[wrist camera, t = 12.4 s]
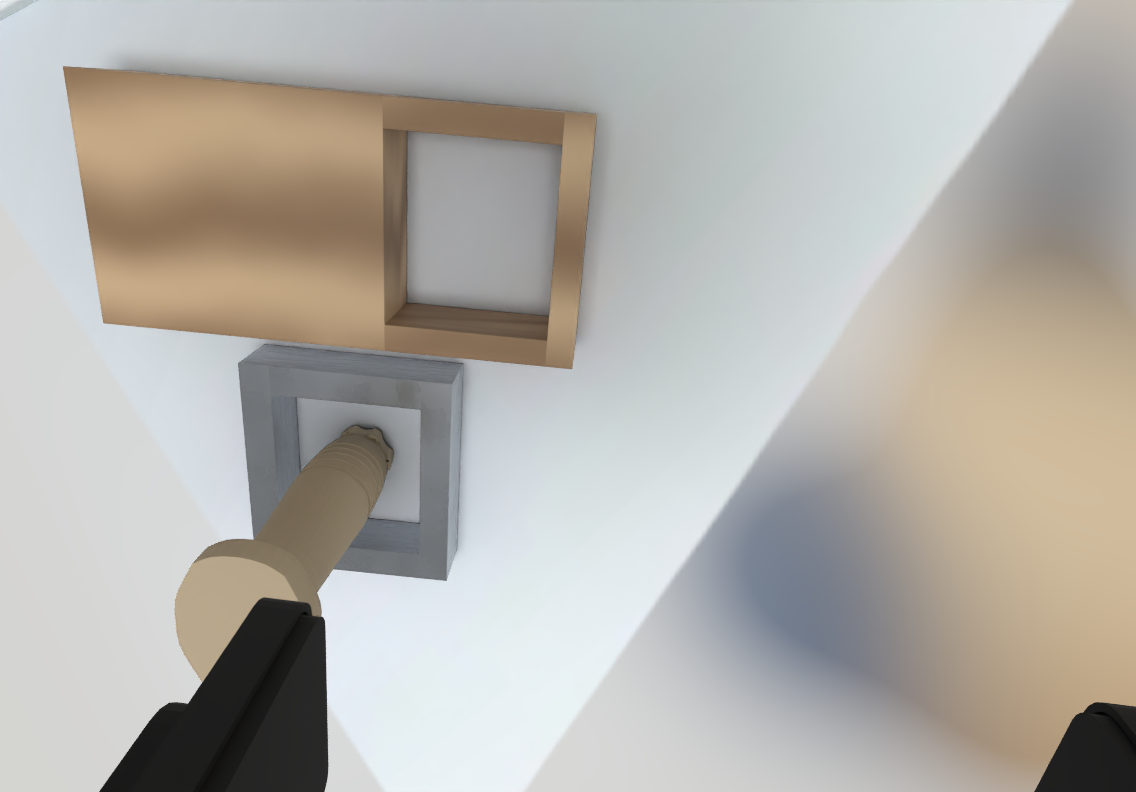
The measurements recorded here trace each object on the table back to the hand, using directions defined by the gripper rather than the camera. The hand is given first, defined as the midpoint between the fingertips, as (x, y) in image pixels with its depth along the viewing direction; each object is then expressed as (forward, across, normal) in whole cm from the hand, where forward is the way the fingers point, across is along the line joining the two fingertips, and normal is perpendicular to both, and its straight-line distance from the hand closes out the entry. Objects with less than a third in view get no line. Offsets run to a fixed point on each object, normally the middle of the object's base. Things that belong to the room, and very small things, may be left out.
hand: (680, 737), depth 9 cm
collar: (+29, +13, +13) cm, 34 cm away
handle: (+29, +13, +13) cm, 34 cm away
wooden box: (+29, +13, 0) cm, 32 cm away
